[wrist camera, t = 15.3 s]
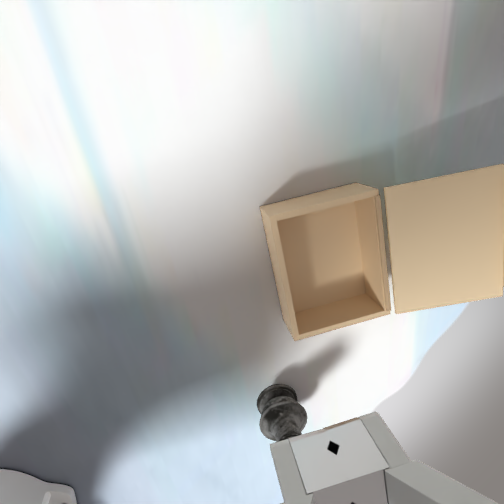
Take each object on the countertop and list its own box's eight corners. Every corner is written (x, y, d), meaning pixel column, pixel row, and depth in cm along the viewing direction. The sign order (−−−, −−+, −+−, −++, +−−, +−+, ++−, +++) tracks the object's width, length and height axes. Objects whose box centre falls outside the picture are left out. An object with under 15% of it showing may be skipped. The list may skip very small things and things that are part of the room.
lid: (399, 318, 39) (394, 311, 41) (512, 299, 38) (504, 293, 40) (387, 190, 35) (383, 187, 36) (516, 164, 34) (507, 162, 35)
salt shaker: (293, 421, 49) (324, 506, 38) (250, 418, 48) (269, 507, 37) (303, 383, 48) (339, 461, 36) (259, 380, 46) (282, 460, 35)
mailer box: (369, 294, 45) (391, 314, 40) (283, 318, 44) (295, 342, 39) (356, 182, 41) (379, 189, 36) (259, 206, 40) (269, 217, 35)
